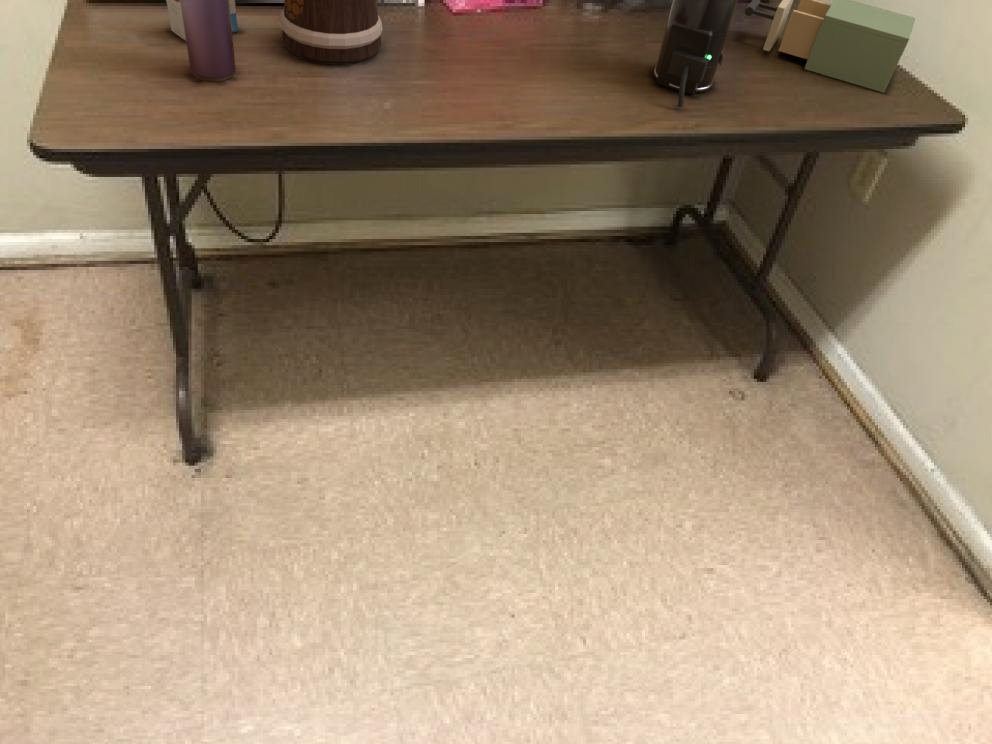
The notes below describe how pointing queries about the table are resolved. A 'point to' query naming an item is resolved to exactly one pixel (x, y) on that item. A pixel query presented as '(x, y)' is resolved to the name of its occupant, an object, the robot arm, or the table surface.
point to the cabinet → (860, 44)
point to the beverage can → (209, 39)
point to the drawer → (793, 25)
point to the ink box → (177, 17)
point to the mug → (331, 29)
